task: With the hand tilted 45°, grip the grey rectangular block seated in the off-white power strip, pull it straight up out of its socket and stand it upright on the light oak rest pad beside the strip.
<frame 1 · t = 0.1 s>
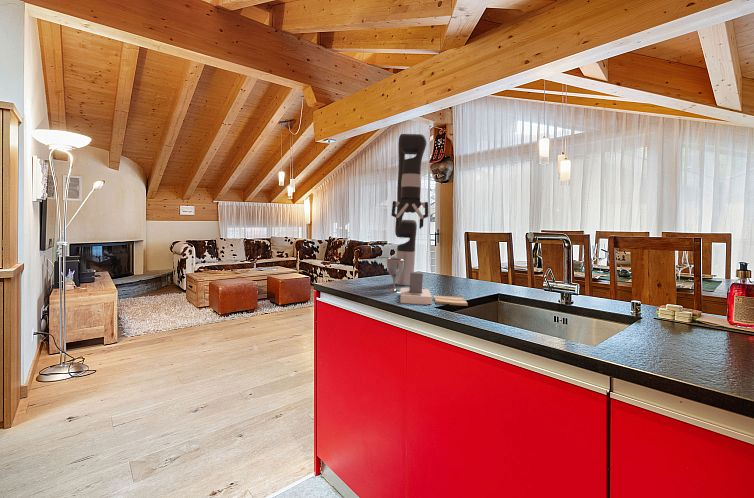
hand: (409, 228, 145), 29 cm above the worktop, tool pointing down, fingers open, 8 cm apart
rest pad: (449, 301, 151), on the worktop
grey rectangular block: (415, 286, 152), in the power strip
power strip: (415, 299, 153), on the worktop
wine glass: (393, 291, 169), on the worktop
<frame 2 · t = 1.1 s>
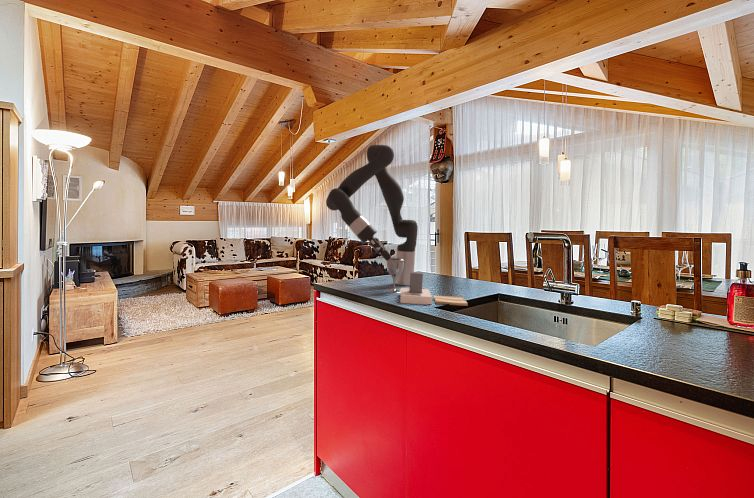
hand: (389, 258, 152), 16 cm above the worktop, tool tilted 45°, fingers open, 8 cm apart
nothing on the worktop moved.
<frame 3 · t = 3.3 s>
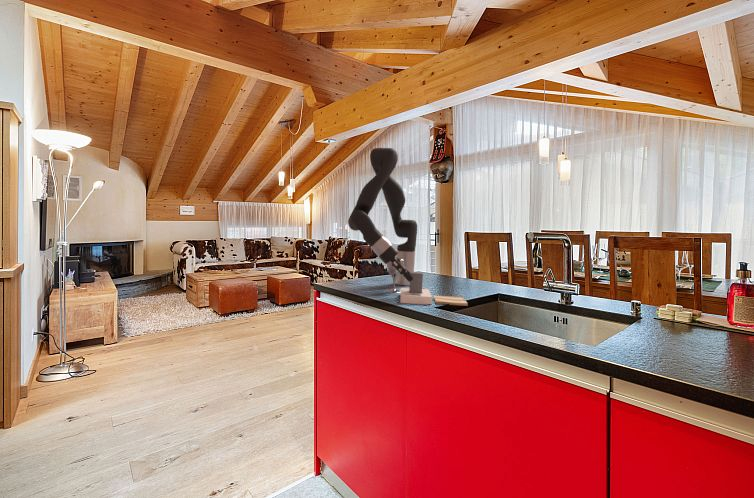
hand: (411, 279, 152), 8 cm above the worktop, tool tilted 45°, fingers open, 8 cm apart
nothing on the worktop moved.
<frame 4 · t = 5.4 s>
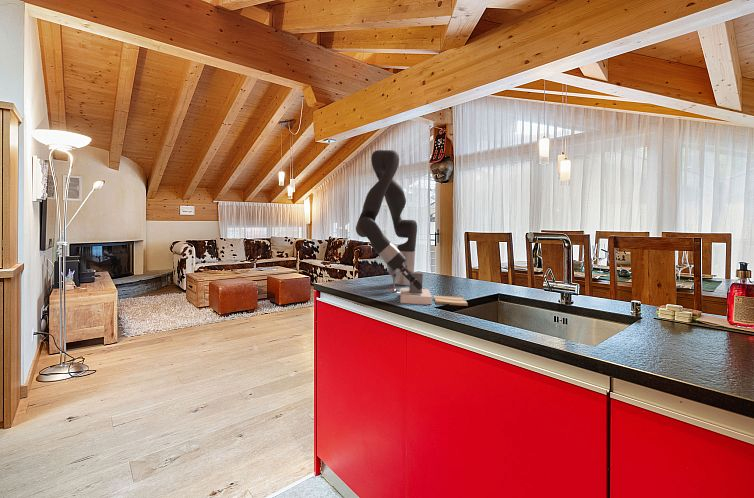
hand: (420, 287, 152), 5 cm above the worktop, tool tilted 45°, fingers closed on grey rectangular block, 4 cm apart
grey rectangular block: (415, 286, 152), in the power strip, touching gripper
everything else where it was.
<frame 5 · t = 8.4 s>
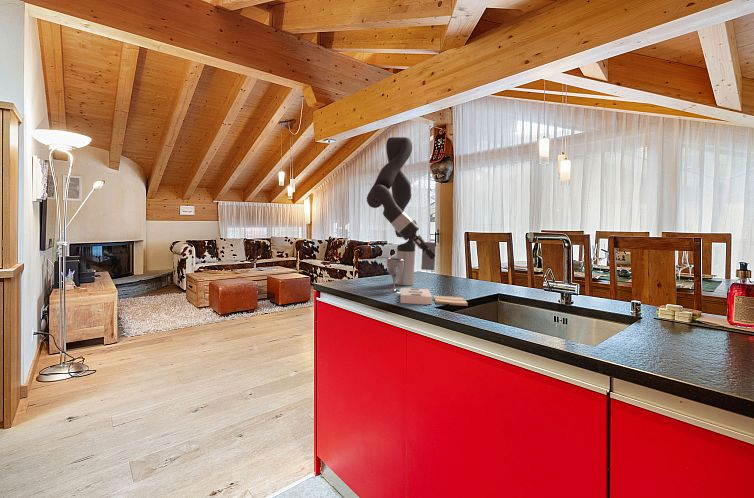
hand: (433, 257, 151), 18 cm above the worktop, tool tilted 45°, fingers closed on grey rectangular block, 4 cm apart
grey rectangular block: (428, 255, 151), point 18 cm above the worktop, touching gripper
everything else where it was.
when the fingers open (7 cm above the worktop, at t = 11.7 s): grey rectangular block drops 1 cm, resting on rest pad.
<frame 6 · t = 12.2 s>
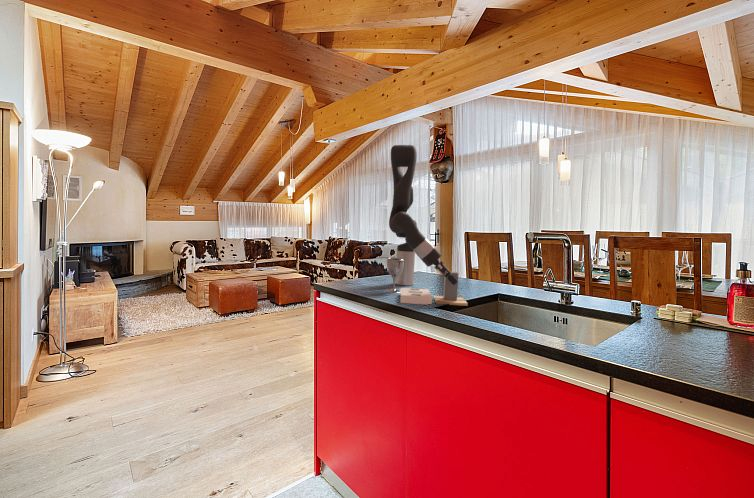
hand: (454, 281, 150), 8 cm above the worktop, tool tilted 45°, fingers open, 8 cm apart
grey rectangular block: (450, 285, 150), on the rest pad, point 6 cm above the worktop
everything else where it was.
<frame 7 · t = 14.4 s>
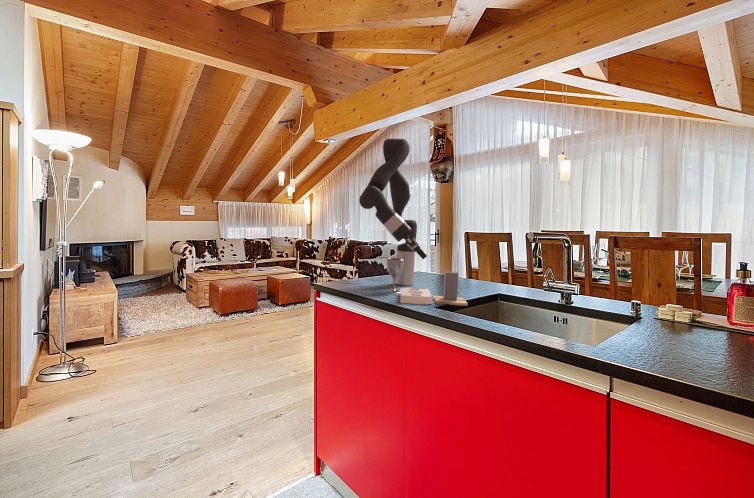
hand: (424, 256, 151), 18 cm above the worktop, tool tilted 45°, fingers open, 8 cm apart
nothing on the worktop moved.
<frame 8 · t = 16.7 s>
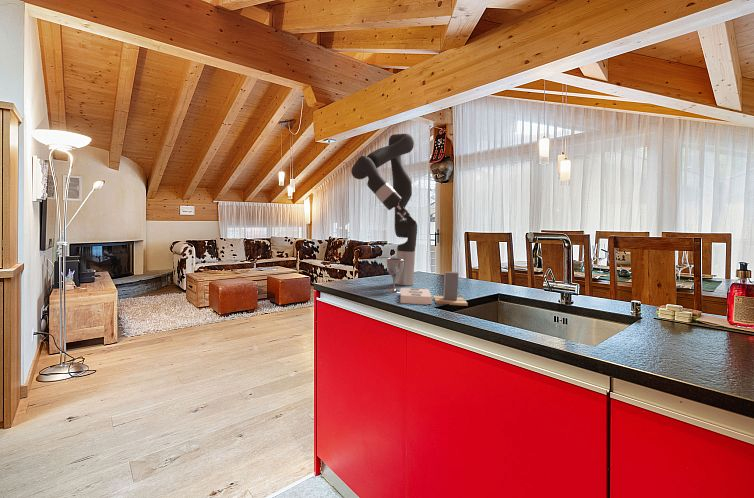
hand: (414, 224, 157), 31 cm above the worktop, tool tilted 45°, fingers open, 8 cm apart
nothing on the worktop moved.
at the end: grey rectangular block inside the target area on the rest pad (0.1 cm from its centre), point 6.5 cm above the rest pad's base; grey rectangular block tilted 0°; the gripper is holding nothing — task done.
